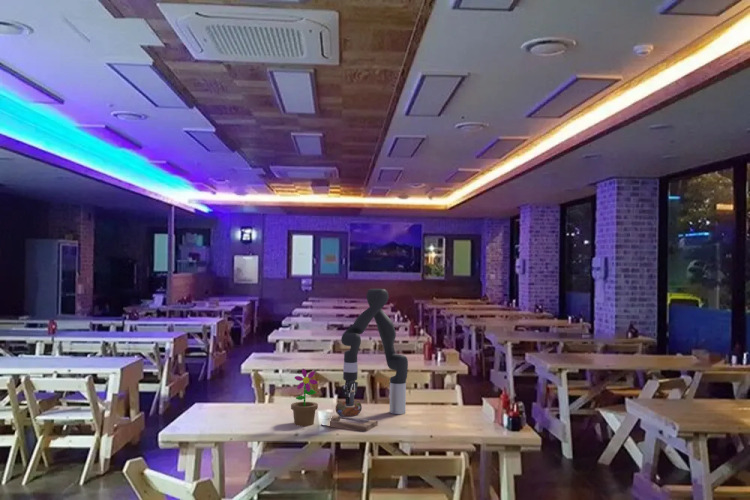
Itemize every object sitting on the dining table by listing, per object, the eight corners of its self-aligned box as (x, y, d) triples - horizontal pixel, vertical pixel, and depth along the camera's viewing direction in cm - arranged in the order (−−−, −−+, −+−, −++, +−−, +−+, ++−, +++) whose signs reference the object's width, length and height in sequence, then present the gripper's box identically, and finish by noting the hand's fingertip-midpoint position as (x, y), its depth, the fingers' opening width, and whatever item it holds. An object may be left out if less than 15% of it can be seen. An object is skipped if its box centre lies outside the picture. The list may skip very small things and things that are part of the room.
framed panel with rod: (334, 419, 358) (334, 415, 358) (377, 425, 347) (377, 420, 347) (321, 425, 346) (321, 420, 346) (366, 431, 335) (366, 426, 335)
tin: (336, 417, 365) (336, 401, 365) (334, 415, 368) (334, 400, 368) (361, 415, 371) (362, 400, 371) (359, 413, 374) (360, 399, 374)
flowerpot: (292, 427, 340) (293, 369, 341) (288, 421, 354) (289, 365, 354) (320, 426, 344) (320, 368, 344) (315, 419, 358) (315, 364, 358)
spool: (347, 405, 350) (347, 388, 350) (356, 406, 348) (356, 389, 348) (342, 407, 345) (343, 390, 346) (351, 408, 343) (352, 391, 343)
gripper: (350, 373, 339) (349, 406, 339) (362, 369, 352) (362, 401, 352) (337, 372, 342) (337, 405, 342) (350, 368, 355) (349, 400, 355)
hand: (349, 403), depth 347 cm, fingers closed on spool, 4 cm apart
